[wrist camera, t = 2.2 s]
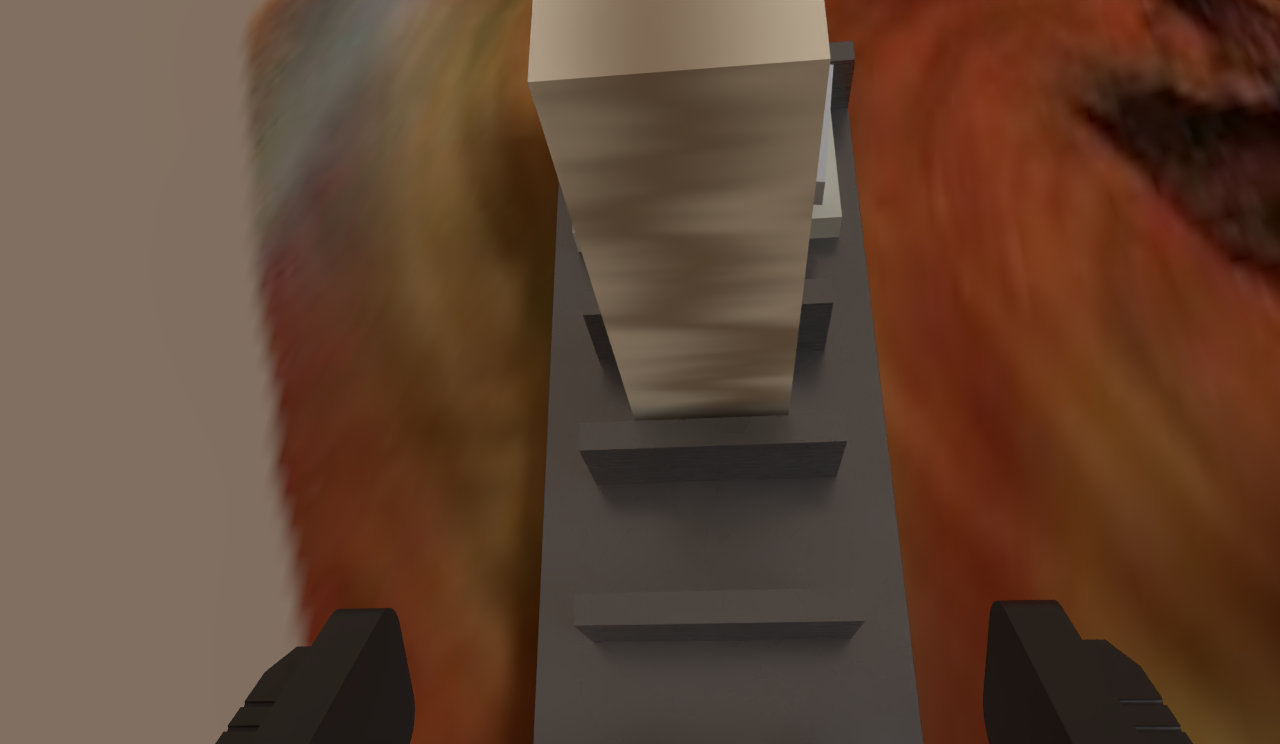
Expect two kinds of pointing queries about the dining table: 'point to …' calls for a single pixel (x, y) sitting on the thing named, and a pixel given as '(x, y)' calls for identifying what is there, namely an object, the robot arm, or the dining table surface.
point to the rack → (726, 533)
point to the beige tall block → (689, 185)
